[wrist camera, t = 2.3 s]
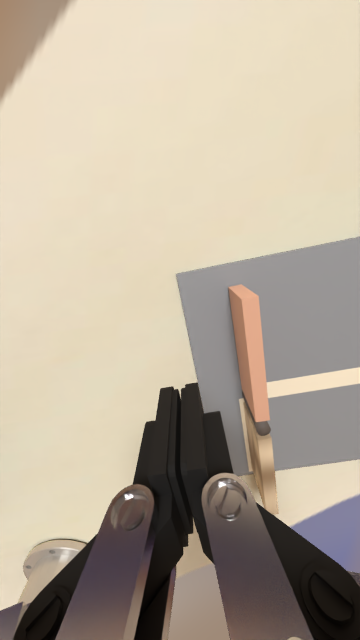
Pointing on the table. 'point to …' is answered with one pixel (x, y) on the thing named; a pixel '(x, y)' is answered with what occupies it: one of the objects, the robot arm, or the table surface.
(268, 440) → the fixed fence section
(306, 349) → the card
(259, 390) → the folding fence panel
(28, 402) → the table surface
